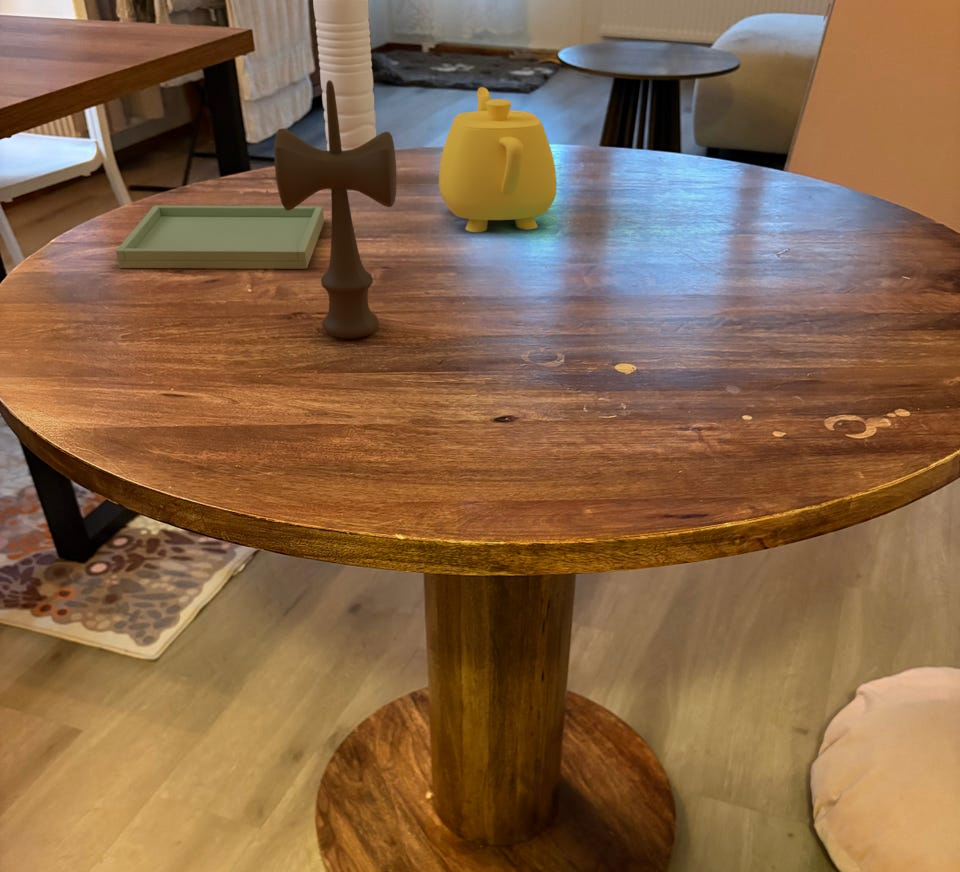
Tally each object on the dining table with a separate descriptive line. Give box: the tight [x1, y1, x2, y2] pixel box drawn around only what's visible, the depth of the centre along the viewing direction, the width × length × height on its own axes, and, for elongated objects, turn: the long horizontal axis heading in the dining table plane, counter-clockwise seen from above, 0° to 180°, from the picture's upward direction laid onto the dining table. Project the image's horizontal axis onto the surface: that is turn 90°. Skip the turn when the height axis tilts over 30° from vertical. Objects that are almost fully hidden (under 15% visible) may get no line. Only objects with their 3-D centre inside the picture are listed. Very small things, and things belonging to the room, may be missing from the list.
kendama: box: [273, 80, 397, 339], centre depth 77 cm, size 6×10×20 cm, turn 92°
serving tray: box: [115, 204, 325, 270], centre depth 101 cm, size 20×16×2 cm
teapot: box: [438, 86, 558, 233], centre depth 105 cm, size 13×20×12 cm
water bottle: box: [312, 0, 377, 151], centre depth 112 cm, size 9×6×25 cm
